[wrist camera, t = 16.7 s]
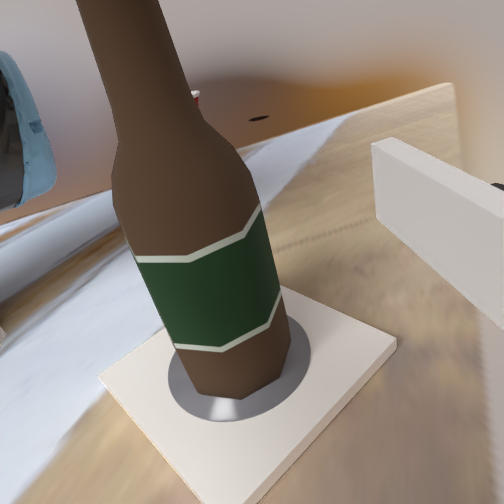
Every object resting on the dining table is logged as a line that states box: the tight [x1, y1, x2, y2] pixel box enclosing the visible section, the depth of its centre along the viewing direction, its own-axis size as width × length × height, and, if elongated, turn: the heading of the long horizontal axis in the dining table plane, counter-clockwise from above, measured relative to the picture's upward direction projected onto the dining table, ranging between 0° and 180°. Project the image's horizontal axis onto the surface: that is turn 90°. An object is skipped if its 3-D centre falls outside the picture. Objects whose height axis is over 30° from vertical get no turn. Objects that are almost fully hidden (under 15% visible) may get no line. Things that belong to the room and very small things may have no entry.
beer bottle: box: [76, 0, 291, 400], centre depth 22 cm, size 8×8×24 cm
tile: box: [98, 285, 397, 504], centre depth 29 cm, size 15×15×1 cm
